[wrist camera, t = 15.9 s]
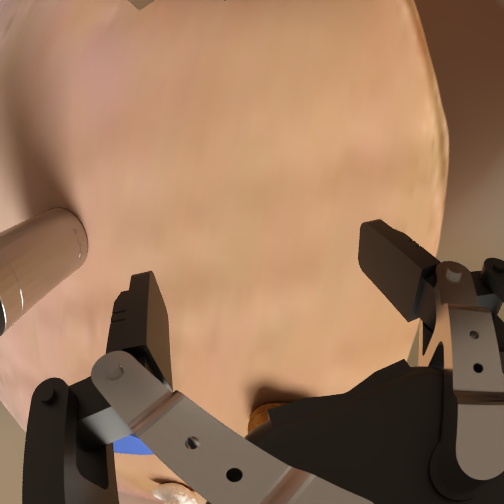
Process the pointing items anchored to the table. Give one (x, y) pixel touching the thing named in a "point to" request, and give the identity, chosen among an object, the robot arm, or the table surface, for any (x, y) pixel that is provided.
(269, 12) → the table surface
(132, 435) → the light blue thin strip
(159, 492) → the white animal figurine
